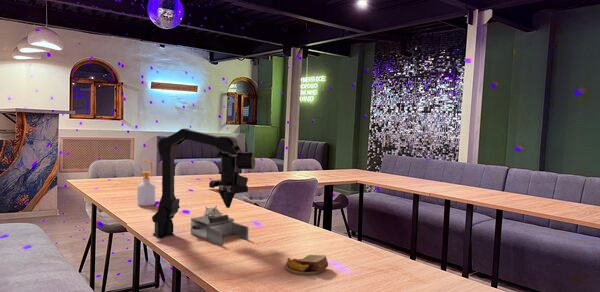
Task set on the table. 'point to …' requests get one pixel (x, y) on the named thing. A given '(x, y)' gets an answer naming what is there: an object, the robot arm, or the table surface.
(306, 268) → the toy sandwich meal
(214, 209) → the game die
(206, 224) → the lid
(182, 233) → the table surface
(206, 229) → the grey rectangular box
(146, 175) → the soap bottle
